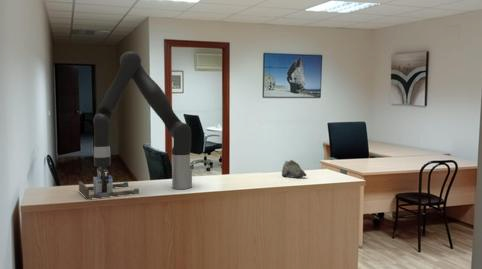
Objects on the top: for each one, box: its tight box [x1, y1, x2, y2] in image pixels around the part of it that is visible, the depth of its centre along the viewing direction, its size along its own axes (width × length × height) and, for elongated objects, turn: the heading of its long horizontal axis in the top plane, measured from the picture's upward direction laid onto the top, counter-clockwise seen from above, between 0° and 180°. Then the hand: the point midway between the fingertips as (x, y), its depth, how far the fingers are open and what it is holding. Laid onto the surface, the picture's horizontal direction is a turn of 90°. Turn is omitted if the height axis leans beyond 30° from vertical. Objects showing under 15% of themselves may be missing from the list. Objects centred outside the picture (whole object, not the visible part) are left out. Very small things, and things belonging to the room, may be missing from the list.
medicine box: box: [92, 174, 114, 194], centre depth 212 cm, size 8×4×9 cm, turn 126°
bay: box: [78, 181, 140, 200], centre depth 216 cm, size 24×19×5 cm
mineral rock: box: [281, 159, 307, 179], centre depth 253 cm, size 13×11×10 cm
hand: (103, 190), depth 212 cm, fingers closed on medicine box, 4 cm apart
